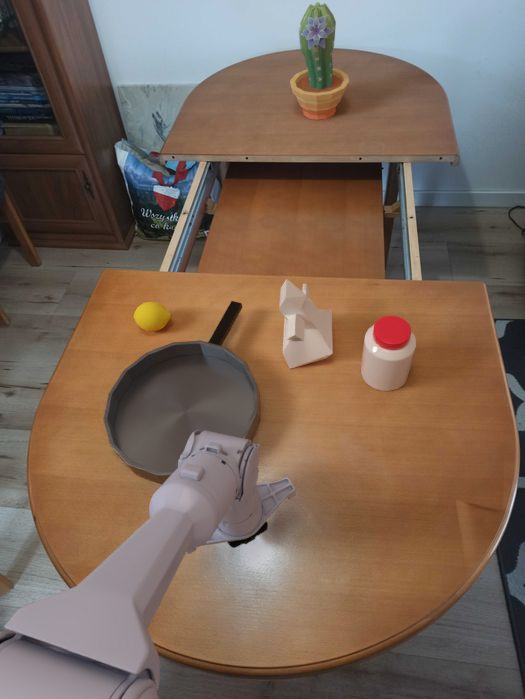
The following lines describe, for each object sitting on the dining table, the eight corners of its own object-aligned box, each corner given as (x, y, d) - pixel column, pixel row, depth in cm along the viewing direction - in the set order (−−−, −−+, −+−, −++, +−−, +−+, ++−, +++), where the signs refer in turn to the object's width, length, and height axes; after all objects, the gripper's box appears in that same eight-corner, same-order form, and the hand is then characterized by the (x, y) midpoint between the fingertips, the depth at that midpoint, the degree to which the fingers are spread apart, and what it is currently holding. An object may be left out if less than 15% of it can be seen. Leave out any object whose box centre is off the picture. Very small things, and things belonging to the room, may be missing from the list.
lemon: (134, 337, 91) (125, 318, 87) (140, 314, 94) (132, 295, 90) (171, 337, 90) (164, 317, 86) (176, 314, 94) (170, 295, 89)
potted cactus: (279, 116, 134) (272, 10, 114) (313, 91, 141) (312, -13, 121) (325, 132, 127) (327, 23, 107) (359, 105, 134) (367, -2, 114)
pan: (222, 507, 70) (218, 498, 67) (83, 455, 77) (74, 444, 74) (300, 330, 89) (299, 317, 86) (182, 301, 95) (178, 287, 92)
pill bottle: (356, 385, 81) (361, 344, 72) (364, 348, 85) (370, 306, 76) (404, 395, 79) (416, 354, 70) (410, 357, 83) (422, 314, 74)
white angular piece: (331, 311, 91) (333, 255, 80) (332, 375, 82) (334, 322, 71) (285, 311, 92) (281, 256, 81) (281, 374, 83) (276, 322, 72)
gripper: (274, 440, 59) (280, 484, 70) (160, 498, 56) (185, 534, 67) (303, 490, 55) (305, 528, 66) (183, 556, 52) (206, 585, 63)
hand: (246, 535), depth 66 cm, fingers closed, pressing on beverage can
